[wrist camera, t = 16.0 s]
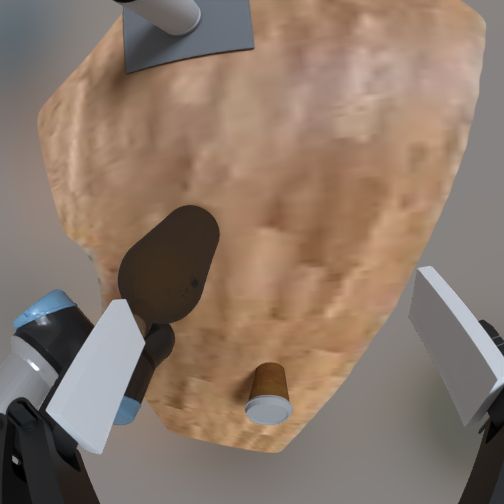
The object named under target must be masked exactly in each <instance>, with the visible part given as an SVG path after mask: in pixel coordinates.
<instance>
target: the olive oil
mask: <svg viewBox="0 0 504 504" xmlns="http://www.w3.org/2000/svg"><path fill="white" fill-rule="evenodd" d="M219 236H220V233H219V227H218V224H217V222H216V220H215V219H214V217H213V216H212V215H211V214H210V213H209V212H208V211H206V210H205V209H203V208H201V207H198V206H192V205H187V206H182V207H179V208H177V209H176V210H174V211H173V212H172V213H171V214H169V215H168V216H167V217H166V218H165V219H164V220H163V221H162V222H161V223H159V224H158V225H157V226H156V227H155V228H154V229H152V230H151V231H150V232H149V233H148V234H147V235H145V236H144V237H143V238H142V239H141V240H140V241H138V242H137V243H136V244H135V245H134V246H133V247H132V248H131V249H130V250H129V251H128V252H127V253H126V255H125V256H124V258H123V260H122V263H121V266H120V269H119V273H118V287H119V291H120V294H121V297H122V299H126V301H127V303H128V305H129V308H130V310H131V312H132V315H133V317H134V319H135V322H136V324H137V326H138V328H139V330H140V333H141V335H142V337H143V339H144V338H145V336H146V335H147V334H148V333H149V330H150V328H151V326H152V324H153V323H156V324H168V323H173V322H176V321H178V320H180V319H182V318H184V317H185V316H186V315H188V314H189V313H190V312H191V311H192V310H193V309H194V308H195V306H196V305H197V303H198V302H199V300H200V298H201V295H202V292H203V289H204V285H205V282H206V278H207V275H208V272H209V268H210V265H211V262H212V259H213V256H214V253H215V250H216V247H217V245H218V242H219Z"/></svg>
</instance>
